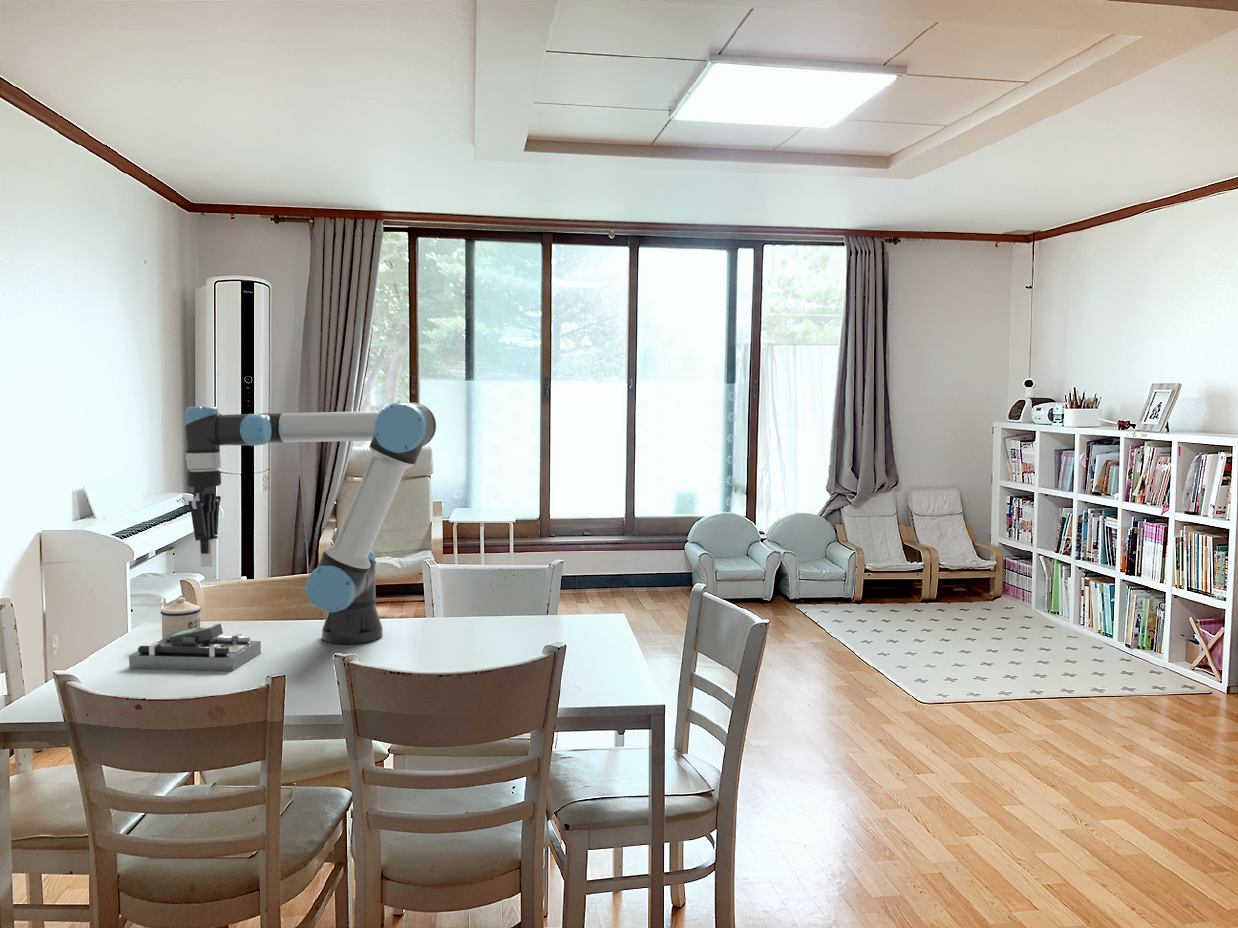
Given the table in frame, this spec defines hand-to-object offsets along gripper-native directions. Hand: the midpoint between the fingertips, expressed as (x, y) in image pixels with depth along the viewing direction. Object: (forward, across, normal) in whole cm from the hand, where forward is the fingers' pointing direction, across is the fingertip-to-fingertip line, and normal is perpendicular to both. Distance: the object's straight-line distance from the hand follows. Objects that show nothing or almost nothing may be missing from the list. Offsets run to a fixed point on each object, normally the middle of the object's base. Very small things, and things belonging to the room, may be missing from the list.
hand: (207, 566), depth 228 cm
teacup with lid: (+21, -6, -9) cm, 23 cm away
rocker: (+16, +10, +1) cm, 19 cm away
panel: (+21, +10, +1) cm, 23 cm away
